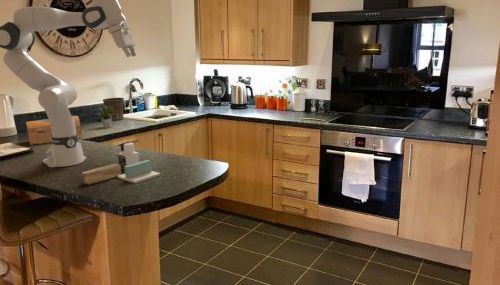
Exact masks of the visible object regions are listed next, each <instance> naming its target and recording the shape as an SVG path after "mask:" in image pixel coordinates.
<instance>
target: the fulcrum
mask: <svg viewBox="0 0 500 285" xmlns="http://www.w3.org/2000/svg"><path fill="white" fill-rule="evenodd" d="M124 169H125V170H124ZM124 169H123V170H124V173H121V174H122V175H118V176H117V179H121V180H123V181H126V182H129V183H132V184H138V183H140V182H144V181H147V180H150V179H153V178H156V177H159V176H161V173H160V172H157V171H153V169H152V160H149V159H145V160H143V161H139V162H138V163H135V164H131V165H128V166H124Z"/></svg>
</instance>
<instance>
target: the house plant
mask: <svg viewBox="0 0 500 285" xmlns="http://www.w3.org/2000/svg"><path fill="white" fill-rule="evenodd" d="M109 106H110V105H109ZM109 106H108V107H109ZM108 107H107V108H106V107H105V105H104V104H103V108H102V107H99V108H97V110H98V111H99V113H97V114H99V115H98V117H102V118H101V123H102V127H103V129H109V128H112V121H111V120H112V118H109V117H108V116H110V113H111V112H113V111H116V110H113V111H110V110H111V109H112V107H111V108H110V109H109V111H110V112H109V111H108V112H107V110H108ZM114 108H115V107H114ZM112 114H113V113H111V115H112ZM114 114H115V113H114Z"/></svg>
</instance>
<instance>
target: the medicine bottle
mask: <svg viewBox="0 0 500 285" xmlns="http://www.w3.org/2000/svg"><path fill="white" fill-rule="evenodd" d="M120 151H121V152H118V153H117V159H118V164H119V165H120V166H121V170H122V169H123V171H125V169H124V166H128V165H131V164H135V163H138V162H140V155H139V152H137V151H135V144H134V142H132V141H125V142H122V143H121V144H120Z"/></svg>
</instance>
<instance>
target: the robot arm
mask: <svg viewBox="0 0 500 285" xmlns="http://www.w3.org/2000/svg"><path fill="white" fill-rule="evenodd" d="M12 18H13V21H12V22H10V21H7V22H5V23H4V24H3V25H0V48H2V49H4V50H6V52H5V53H4V54H3V58H2V59H3V62H4V64H5V65H6V67H7V68H8V69H9V70H10V71H11V72H12V73H13V74H14V75H15V76H16V77H17V78H18V79H19V80H20V81H22V82H23V83H24V84H26V85H27V86H28V87H29V88H31V89H32V90H35V91H37V92H39V94H38V96H37V100H38V103H39V106H41V107H42V108H43V109H44V111H45V113H46V115H47V117H48V118H47V119H49V121H50V126H51V132H52V137H51V143H50V144H51V145H50V146H49V147H48V148H47V150H46V152H45V153H44V154H45V157H46V158H43V160H42V162H43V163H44V164H45V165H46V164H47V165H46V166H47V167H49V168H59V167H63V168H64V167H71V166H75V165H79V164H81V163H83V162H84V161H85V160H86V159H87V156H85V155H84V151H83V146H82V144H81V143H80V142H79V139H78V135H77V134H76V128H75V121H74V118H73V117H72V116H73V115H72V114H71V111H70V109H69V106H70V105H72V104H73V103H74V102H75V101H76V99H77V98H78V91H77V89H76V87H74V86H73V85H71V84H68V83H66V82H65V81H63V80H61V79H60V78H59V77H57V76H55V75H53V74H52V73H51V72H49V71H48V70H47V69H45V68H44V67H43V66H42V65H41V64H40V63H39V62H37V61H36V60H35V59H34V58H32V57H31V56H30V55H29V52H30V51H31V50H32V47H33V46H34V44H35V41H36V35H35V32H48V31H56V30H59V29H63V28H64V29H65V28H67V27H68V28H69V27H84V26H85V27H87V28H89V29H96V30H102V31H103V30H104V31H105V30H107V31H108V34H111V37H112V39H113V41H114V43H115V45H116V46H117V48H118V49H122V51H123V53H124V54H125V56H126V58H129V57H136V56H137V53H136V51H135V46H136V42H135V40H134V38H133V36H132V34H131V32H130V31H129V30H130V29H131V27H130V24H129V22H128V21H127V19H126V16H125V15H124V14H123V8H122V6H121V4H120V2H119V1H118V0H94V1H93V2H92V3H91V4H90V5H89V6H88V7H86V8H85V9H84V10H83V12H82V11H81V12H80V11H79V12H78V11H77V12H74V11H66V10H64V9H63V10H62V9H58V8H54V7H49V6H42V5H41V6H40V5H39V6H27V7H22V8H18V9H16V10H15V11H14V13H13V17H12Z"/></svg>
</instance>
